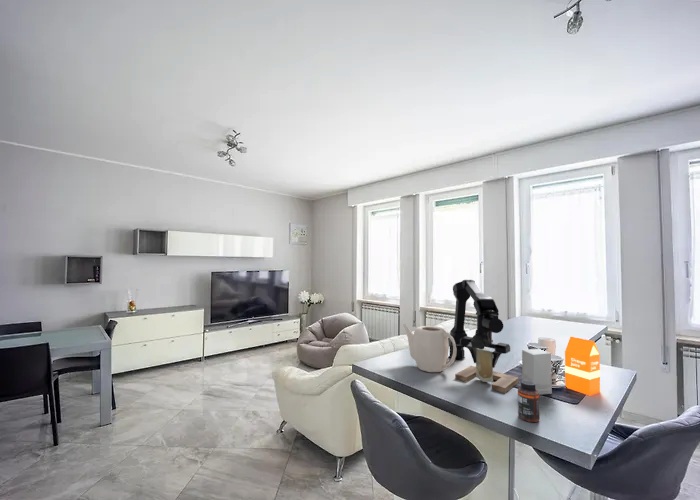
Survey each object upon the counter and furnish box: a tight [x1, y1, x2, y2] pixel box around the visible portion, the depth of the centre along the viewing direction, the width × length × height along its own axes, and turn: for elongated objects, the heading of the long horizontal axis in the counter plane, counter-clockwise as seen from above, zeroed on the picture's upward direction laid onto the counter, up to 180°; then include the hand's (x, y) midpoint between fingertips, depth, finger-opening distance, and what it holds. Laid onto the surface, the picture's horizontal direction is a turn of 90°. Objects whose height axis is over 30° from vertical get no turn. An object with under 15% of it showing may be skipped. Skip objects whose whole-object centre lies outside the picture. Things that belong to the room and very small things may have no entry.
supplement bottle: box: [517, 380, 541, 423], centre depth 99 cm, size 6×6×11 cm
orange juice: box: [564, 336, 601, 397], centre depth 124 cm, size 8×9×20 cm
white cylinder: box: [537, 337, 557, 356], centre depth 144 cm, size 7×7×15 cm
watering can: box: [403, 323, 457, 373], centre depth 145 cm, size 16×27×19 cm, turn 51°
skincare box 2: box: [521, 348, 553, 396], centre depth 121 cm, size 8×7×16 cm
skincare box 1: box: [475, 347, 494, 383], centre depth 130 cm, size 6×4×12 cm
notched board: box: [454, 365, 520, 394], centre depth 131 cm, size 20×16×2 cm
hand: (484, 365), depth 130 cm, fingers open, 7 cm apart
